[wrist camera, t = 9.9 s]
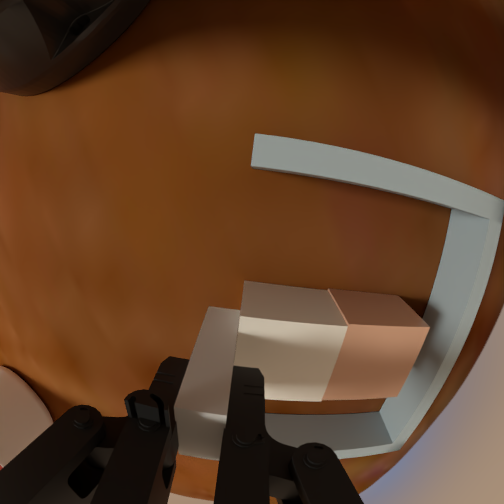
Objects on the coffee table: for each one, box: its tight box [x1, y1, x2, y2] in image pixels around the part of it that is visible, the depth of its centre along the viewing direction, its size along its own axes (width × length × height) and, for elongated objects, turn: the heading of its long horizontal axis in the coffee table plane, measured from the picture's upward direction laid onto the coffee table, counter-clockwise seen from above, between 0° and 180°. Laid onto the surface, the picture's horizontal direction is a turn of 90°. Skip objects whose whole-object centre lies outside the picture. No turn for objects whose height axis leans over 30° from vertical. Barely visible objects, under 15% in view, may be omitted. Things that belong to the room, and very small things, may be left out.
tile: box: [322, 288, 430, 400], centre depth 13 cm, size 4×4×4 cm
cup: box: [0, 366, 53, 470], centre depth 14 cm, size 10×10×10 cm
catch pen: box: [251, 134, 504, 459], centre depth 13 cm, size 13×18×4 cm
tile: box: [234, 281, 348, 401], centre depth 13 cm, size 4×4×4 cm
